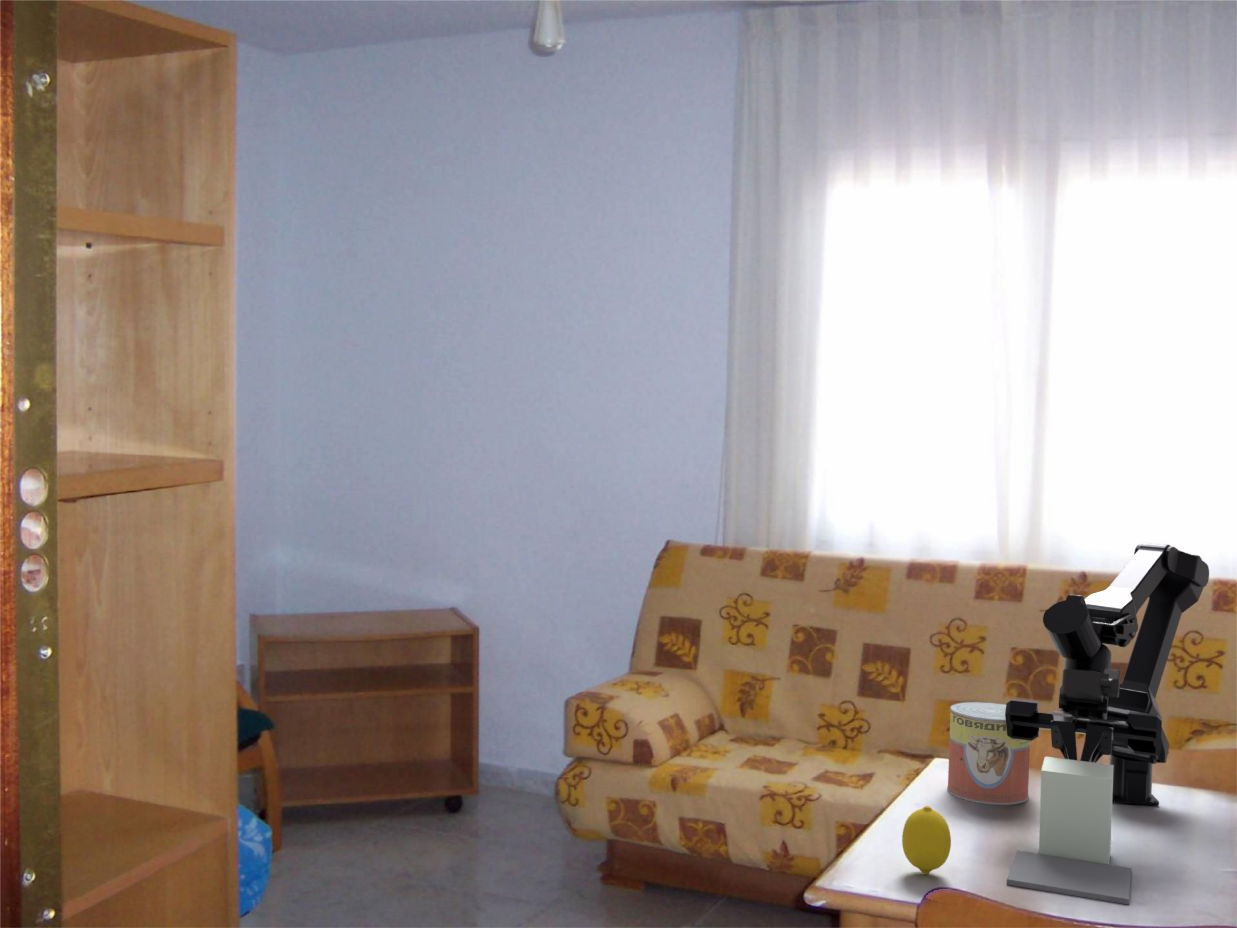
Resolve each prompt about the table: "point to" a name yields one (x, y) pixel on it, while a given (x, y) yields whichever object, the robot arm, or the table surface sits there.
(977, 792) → the canned food
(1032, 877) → the mat
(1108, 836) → the sage block
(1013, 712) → the robot arm
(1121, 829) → the table surface
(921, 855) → the lemon
